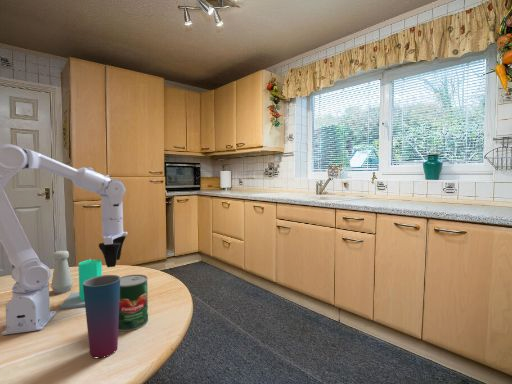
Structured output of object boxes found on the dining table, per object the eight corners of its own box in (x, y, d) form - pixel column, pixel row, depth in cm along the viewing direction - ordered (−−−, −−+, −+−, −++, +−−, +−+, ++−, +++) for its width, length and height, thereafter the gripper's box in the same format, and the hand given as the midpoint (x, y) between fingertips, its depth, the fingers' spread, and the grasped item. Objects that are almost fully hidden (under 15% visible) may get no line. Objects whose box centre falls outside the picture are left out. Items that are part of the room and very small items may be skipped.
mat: (99, 304, 82) (99, 302, 82) (59, 309, 79) (59, 306, 79) (107, 291, 91) (107, 289, 91) (71, 295, 88) (71, 293, 88)
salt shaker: (77, 288, 95) (76, 249, 94) (64, 295, 89) (62, 253, 88) (60, 287, 95) (59, 249, 95) (46, 294, 89) (45, 253, 89)
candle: (96, 300, 83) (95, 259, 82) (75, 300, 83) (73, 259, 82) (106, 292, 89) (105, 254, 88) (86, 292, 89) (85, 254, 88)
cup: (127, 341, 63) (125, 274, 62) (113, 360, 56) (111, 285, 56) (96, 342, 63) (94, 275, 62) (77, 361, 56) (75, 286, 55)
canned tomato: (126, 334, 66) (125, 287, 65) (107, 325, 70) (105, 281, 69) (155, 320, 73) (154, 277, 72) (135, 312, 77) (134, 272, 76)
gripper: (123, 221, 81) (124, 268, 81) (129, 215, 94) (131, 255, 95) (95, 222, 79) (96, 271, 79) (106, 216, 92) (107, 257, 93)
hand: (113, 263), depth 87 cm, fingers open, 7 cm apart
